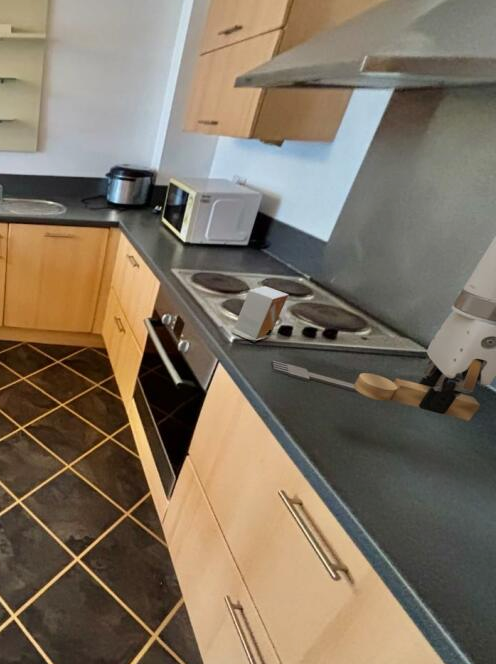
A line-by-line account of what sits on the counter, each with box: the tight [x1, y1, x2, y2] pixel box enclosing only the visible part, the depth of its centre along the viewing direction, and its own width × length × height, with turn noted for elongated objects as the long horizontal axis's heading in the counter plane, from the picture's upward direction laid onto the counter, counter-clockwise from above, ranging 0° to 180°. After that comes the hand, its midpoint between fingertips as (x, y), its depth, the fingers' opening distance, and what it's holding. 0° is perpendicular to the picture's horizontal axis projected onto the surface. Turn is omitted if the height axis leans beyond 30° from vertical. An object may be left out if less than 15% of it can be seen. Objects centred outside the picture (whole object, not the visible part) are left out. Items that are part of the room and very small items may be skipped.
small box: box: [233, 285, 289, 339], centre depth 110 cm, size 8×6×13 cm
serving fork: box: [271, 360, 358, 393], centre depth 95 cm, size 16×5×1 cm, turn 61°
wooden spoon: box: [353, 372, 481, 421], centre depth 71 cm, size 15×5×3 cm, turn 61°
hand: (427, 404), depth 71 cm, fingers closed on wooden spoon, 2 cm apart
